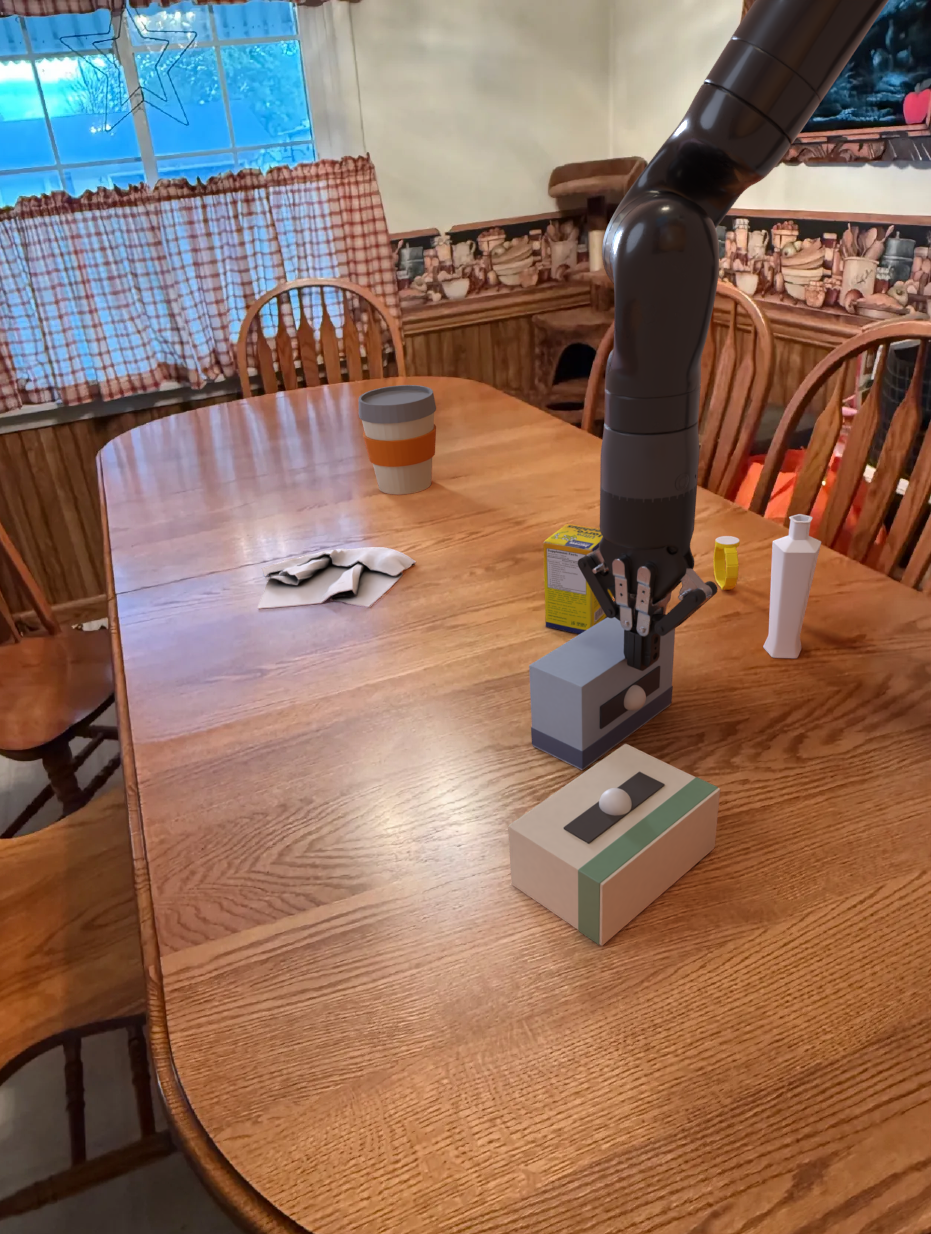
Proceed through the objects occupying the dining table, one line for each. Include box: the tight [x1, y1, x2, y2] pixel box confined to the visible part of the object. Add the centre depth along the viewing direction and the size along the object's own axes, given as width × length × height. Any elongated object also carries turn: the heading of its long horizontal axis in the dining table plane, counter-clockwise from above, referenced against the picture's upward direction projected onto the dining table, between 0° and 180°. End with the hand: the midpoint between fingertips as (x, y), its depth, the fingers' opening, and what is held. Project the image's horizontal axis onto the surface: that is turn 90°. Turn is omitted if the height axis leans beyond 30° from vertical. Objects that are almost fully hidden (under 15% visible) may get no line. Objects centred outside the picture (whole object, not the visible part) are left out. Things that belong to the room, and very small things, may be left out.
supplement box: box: [542, 522, 614, 635], centre depth 102 cm, size 6×6×11 cm
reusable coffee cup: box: [358, 384, 437, 495], centre depth 147 cm, size 13×13×15 cm
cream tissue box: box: [507, 743, 721, 947], centre depth 69 cm, size 14×8×9 cm
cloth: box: [257, 546, 417, 610], centre depth 121 cm, size 20×22×2 cm
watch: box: [712, 535, 741, 591], centre depth 108 cm, size 6×3×6 cm, turn 179°
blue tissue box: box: [528, 617, 676, 771], centre depth 84 cm, size 14×8×9 cm, turn 133°
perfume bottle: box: [762, 513, 822, 659], centre depth 92 cm, size 5×4×15 cm
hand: (640, 664), depth 80 cm, fingers closed
